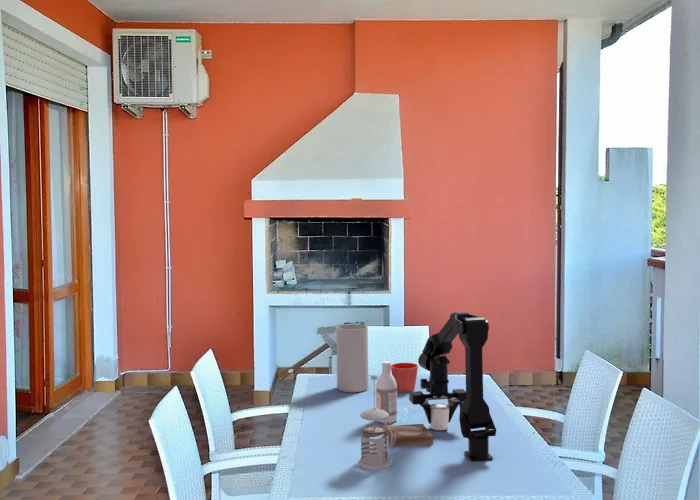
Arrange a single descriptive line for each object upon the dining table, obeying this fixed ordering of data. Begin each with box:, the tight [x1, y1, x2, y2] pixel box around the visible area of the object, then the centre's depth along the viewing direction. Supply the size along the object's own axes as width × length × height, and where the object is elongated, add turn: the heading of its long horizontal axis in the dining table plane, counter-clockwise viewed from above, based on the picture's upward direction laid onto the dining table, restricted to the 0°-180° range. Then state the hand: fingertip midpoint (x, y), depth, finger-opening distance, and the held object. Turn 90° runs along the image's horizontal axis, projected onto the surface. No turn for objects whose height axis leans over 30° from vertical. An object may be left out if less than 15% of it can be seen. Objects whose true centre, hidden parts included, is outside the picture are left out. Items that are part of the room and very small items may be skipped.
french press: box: [357, 374, 396, 470], centre depth 184 cm, size 10×12×25 cm
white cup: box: [429, 403, 450, 431], centre depth 214 cm, size 7×7×7 cm
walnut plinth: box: [386, 423, 434, 448], centre depth 205 cm, size 12×12×3 cm
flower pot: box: [391, 362, 419, 393], centre depth 261 cm, size 11×11×10 cm
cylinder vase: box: [335, 323, 369, 393], centre depth 263 cm, size 12×12×25 cm
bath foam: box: [375, 360, 398, 424], centre depth 222 cm, size 7×7×20 cm
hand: (439, 422), depth 214 cm, fingers closed on white cup, 6 cm apart
